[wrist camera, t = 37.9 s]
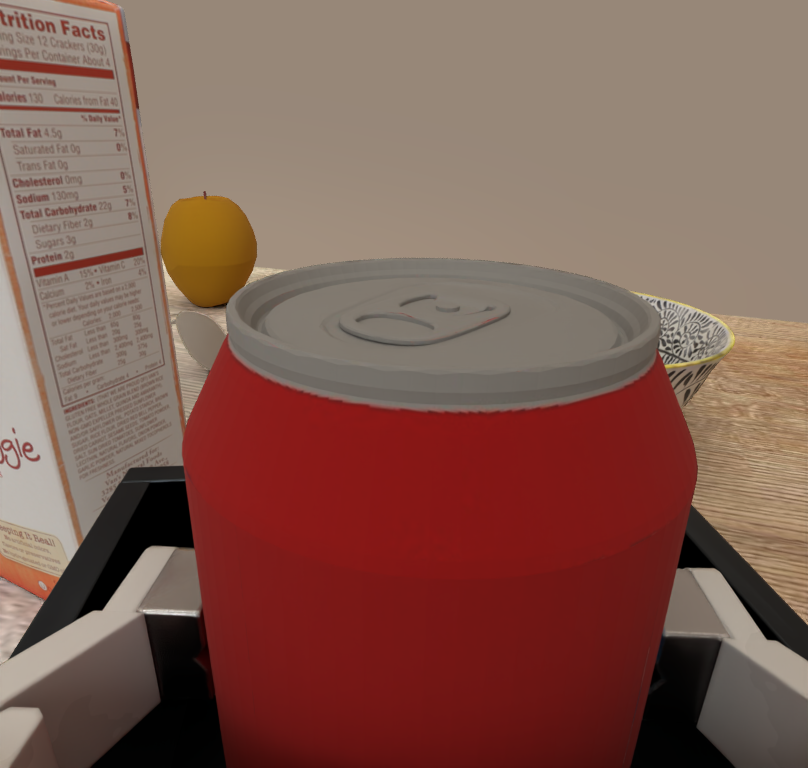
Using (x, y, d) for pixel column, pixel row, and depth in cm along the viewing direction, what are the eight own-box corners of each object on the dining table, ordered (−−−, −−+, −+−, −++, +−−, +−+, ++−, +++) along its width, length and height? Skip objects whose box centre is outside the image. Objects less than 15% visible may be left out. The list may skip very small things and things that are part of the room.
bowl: (768, 489, 31) (808, 357, 28) (476, 505, 30) (486, 366, 27) (629, 377, 46) (646, 282, 43) (428, 383, 44) (431, 284, 41)
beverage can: (637, 838, 13) (782, 291, 8) (463, 1271, 8) (582, 510, 3) (396, 671, 17) (402, 238, 12) (179, 889, 12) (48, 300, 7)
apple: (259, 314, 61) (249, 195, 56) (160, 317, 59) (142, 195, 54) (263, 291, 69) (254, 187, 65) (177, 294, 68) (162, 187, 63)
